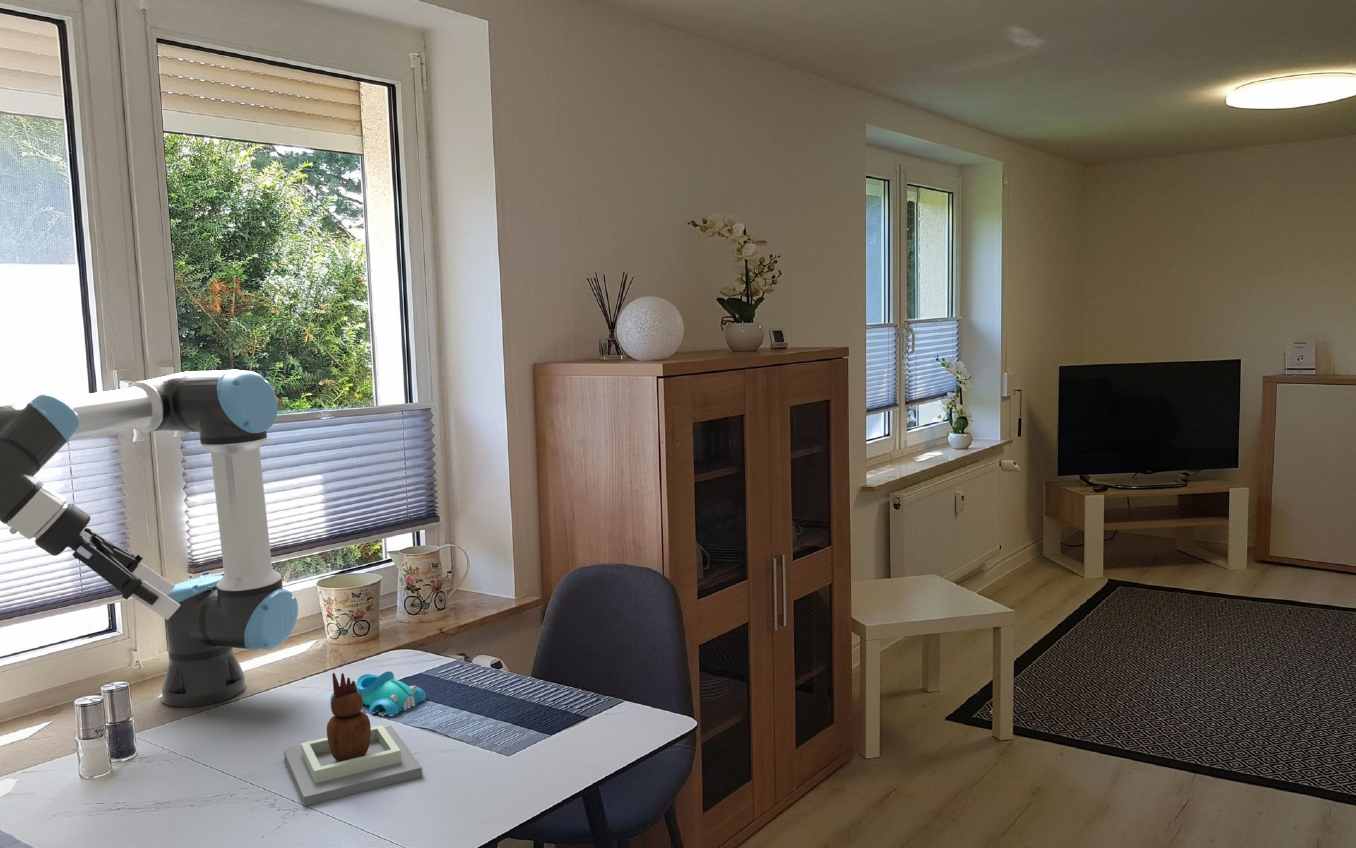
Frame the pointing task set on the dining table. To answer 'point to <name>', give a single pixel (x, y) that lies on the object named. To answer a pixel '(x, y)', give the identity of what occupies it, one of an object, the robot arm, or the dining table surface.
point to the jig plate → (350, 767)
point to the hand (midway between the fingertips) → (171, 602)
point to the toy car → (387, 693)
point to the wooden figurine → (347, 722)
